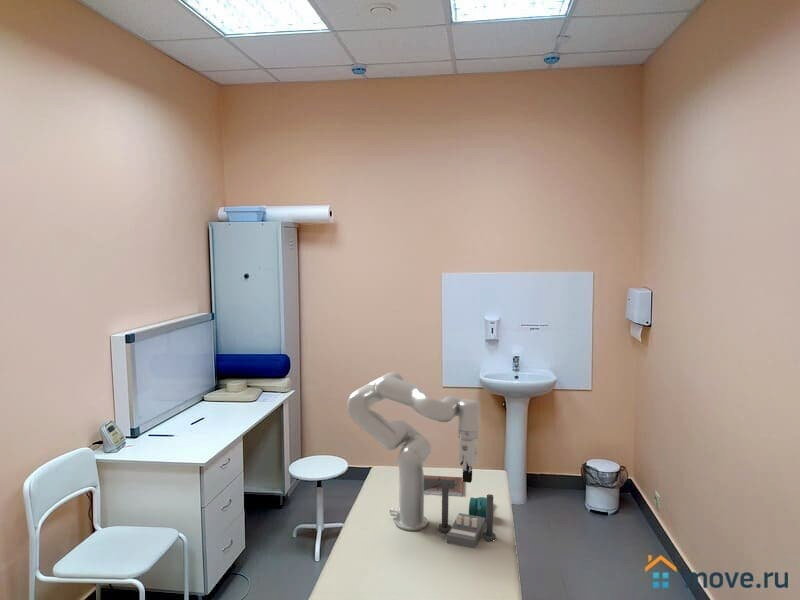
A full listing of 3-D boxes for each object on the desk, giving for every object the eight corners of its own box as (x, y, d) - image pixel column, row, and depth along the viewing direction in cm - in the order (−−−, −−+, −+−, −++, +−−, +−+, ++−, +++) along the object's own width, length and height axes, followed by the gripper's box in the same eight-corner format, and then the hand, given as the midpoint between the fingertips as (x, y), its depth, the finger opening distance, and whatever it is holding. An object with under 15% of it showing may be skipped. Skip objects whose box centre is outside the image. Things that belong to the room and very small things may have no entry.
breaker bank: (456, 524, 210) (456, 516, 209) (457, 522, 211) (457, 515, 211) (476, 527, 207) (476, 520, 207) (477, 526, 208) (477, 518, 208)
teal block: (485, 523, 217) (486, 504, 217) (468, 521, 219) (469, 501, 219) (492, 503, 234) (492, 485, 234) (476, 501, 236) (476, 483, 236)
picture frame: (412, 494, 243) (462, 497, 241) (412, 489, 243) (462, 492, 240) (415, 479, 260) (462, 482, 257) (415, 474, 259) (462, 476, 257)
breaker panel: (446, 542, 203) (446, 534, 202) (459, 520, 219) (459, 512, 219) (474, 548, 199) (474, 539, 199) (485, 525, 216) (485, 517, 215)
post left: (436, 531, 211) (437, 490, 209) (440, 525, 215) (440, 484, 214) (449, 533, 209) (450, 492, 207) (452, 527, 214) (453, 486, 212)
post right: (480, 540, 205) (481, 497, 203) (483, 533, 209) (484, 491, 208) (494, 542, 203) (495, 499, 201) (497, 536, 208) (498, 494, 206)
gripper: (473, 441, 197) (472, 491, 199) (482, 428, 211) (481, 475, 213) (453, 438, 200) (452, 487, 202) (463, 426, 214) (462, 472, 216)
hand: (467, 481), depth 207 cm, fingers closed
